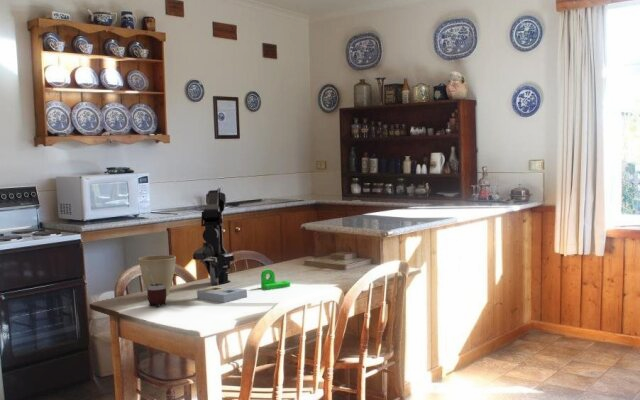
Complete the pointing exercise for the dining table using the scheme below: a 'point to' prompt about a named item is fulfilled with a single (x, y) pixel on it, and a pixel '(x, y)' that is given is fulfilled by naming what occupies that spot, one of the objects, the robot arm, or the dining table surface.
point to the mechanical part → (272, 281)
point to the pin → (213, 275)
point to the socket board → (222, 294)
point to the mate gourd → (156, 293)
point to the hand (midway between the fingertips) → (214, 277)
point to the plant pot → (158, 270)
